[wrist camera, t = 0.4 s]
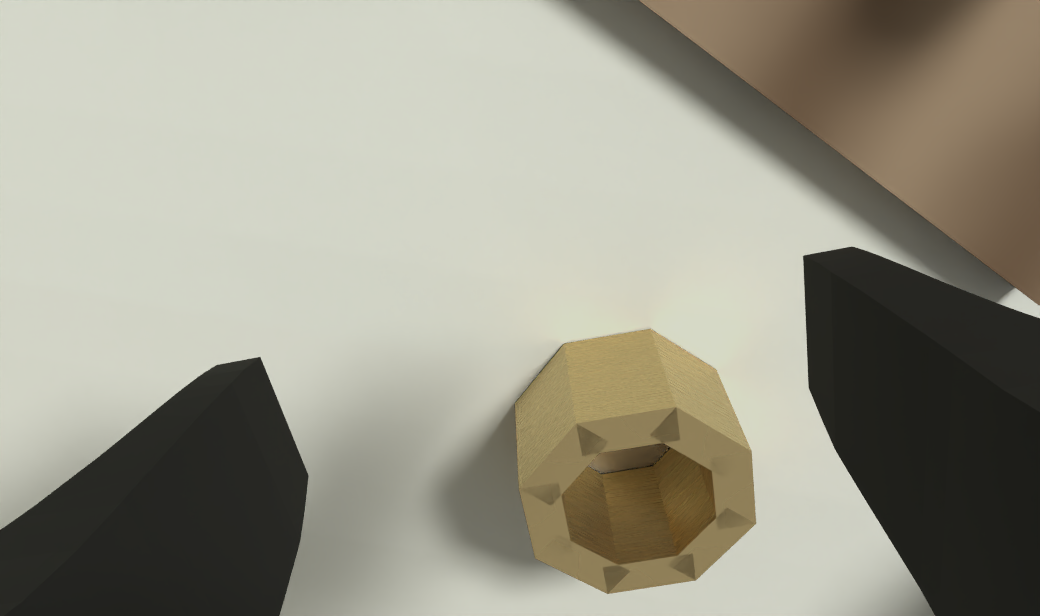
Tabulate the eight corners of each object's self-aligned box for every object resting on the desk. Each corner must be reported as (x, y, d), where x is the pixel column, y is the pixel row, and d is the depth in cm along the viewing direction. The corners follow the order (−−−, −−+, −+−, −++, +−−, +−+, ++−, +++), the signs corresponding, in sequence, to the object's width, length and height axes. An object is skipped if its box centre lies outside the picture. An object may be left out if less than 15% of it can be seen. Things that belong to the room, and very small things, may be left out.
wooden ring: (760, 396, 23) (801, 480, 20) (635, 524, 25) (655, 618, 22) (601, 298, 22) (620, 373, 19) (482, 443, 24) (480, 531, 21)
